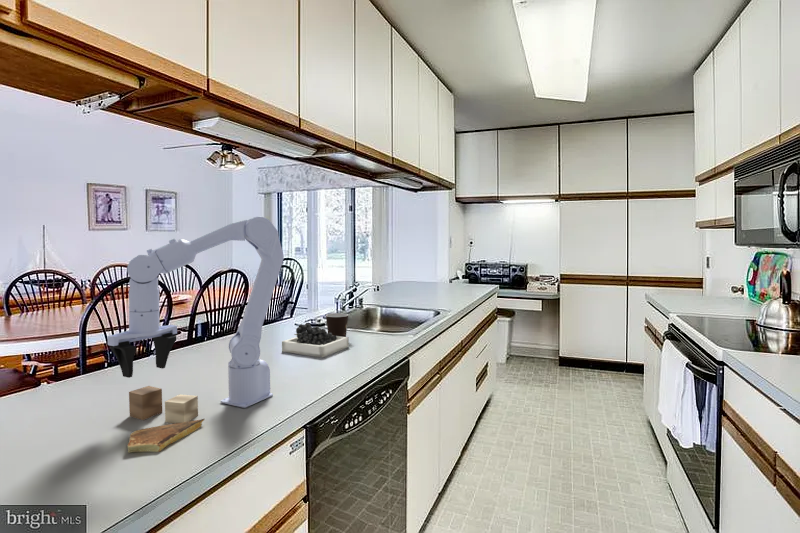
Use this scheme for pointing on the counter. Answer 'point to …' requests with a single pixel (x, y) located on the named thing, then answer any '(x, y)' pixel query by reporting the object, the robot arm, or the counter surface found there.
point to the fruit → (313, 335)
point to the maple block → (181, 408)
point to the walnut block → (145, 402)
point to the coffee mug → (337, 324)
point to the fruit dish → (315, 347)
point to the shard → (160, 436)
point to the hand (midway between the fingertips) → (144, 371)
